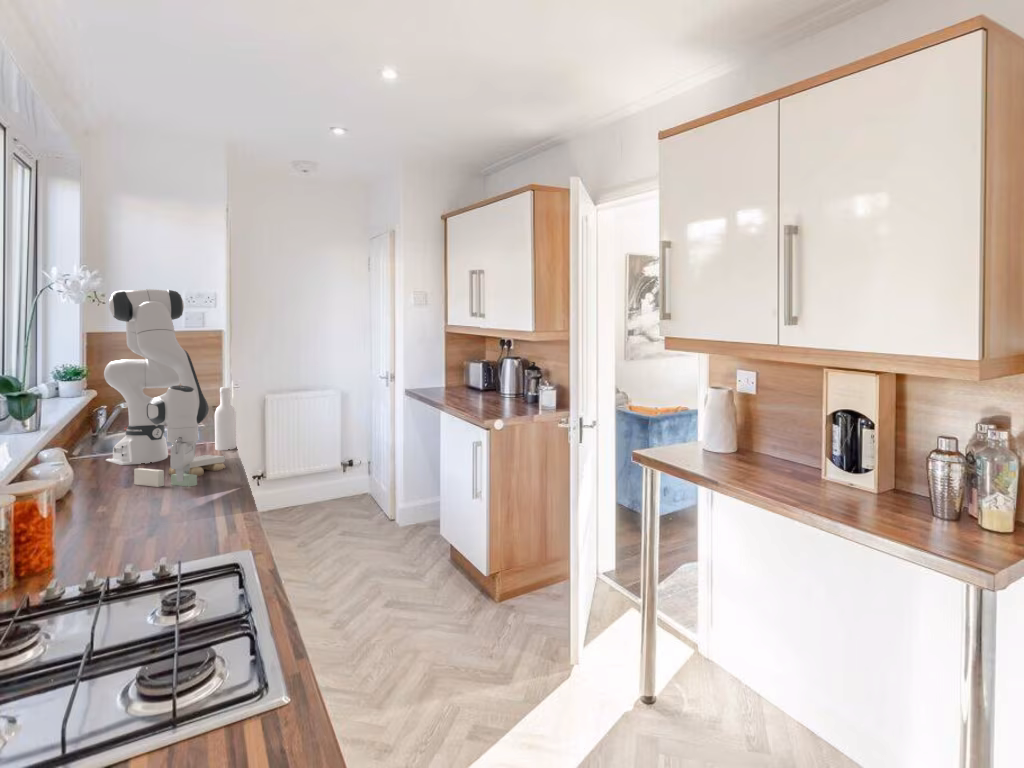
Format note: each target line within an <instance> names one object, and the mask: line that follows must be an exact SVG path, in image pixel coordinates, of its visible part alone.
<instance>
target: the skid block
mask: <svg viewBox="0 0 1024 768" xmlns="http://www.w3.org/2000/svg"><path fill="white" fill-rule="evenodd" d="M170 485H171V486H178V487H188V488H190V487H194V486H197V485H198V477H197V475H193V474H184V480H183V481H182V482H178V481H177V476H176V474H172V475H171V474H170Z"/></svg>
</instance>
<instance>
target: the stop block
mask: <svg viewBox="0 0 1024 768" xmlns="http://www.w3.org/2000/svg"><path fill="white" fill-rule="evenodd" d="M133 474H134V476H133V479H134V482H133V483H134V485H137V486H144V487H145V486H147V487H154V488H160V487H164V486H165V470H164V469H154V468H145V467H144V468H143V467H139V468H134V470H133Z"/></svg>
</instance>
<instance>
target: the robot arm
mask: <svg viewBox="0 0 1024 768" xmlns="http://www.w3.org/2000/svg"><path fill="white" fill-rule="evenodd" d="M108 307H109V311H110V313H111V314H112V316H113V318H114V319H116V320H117V321H121V322H125V329H126V330H125V332H126V334H125V335H126V346H127V348H128V349H129V350H130V351H131V352H132V353H134V354H136V355H138V356H141V357H142V358H144V359H136V358H135V359H134V358H132V359H131V358H129V359H127V358H125V359H119V360H113V361H109V363H107V364H106V366H105V368H104V371H103V377H104V380H105V382H106V384H108V385H109V386H110V387H111V388H114V390H116V391H117V392H118V393H119V394H121V396H122V398H123V399H124V400H125V403H126V406H127V412H128V414H127V415H128V425H127V426H125V427H124V431H125V436H123V438H122V439H121V440H119V441H118V442H117V443H116V444H115V445H114V446H113V448H112V458H106V459H105V461H106V462H108V463H109V462H110V463H112V464H116V465H120V466H130V465H142V464H141V463H145V464H151V463H150V462H152V463H156V462H161V461H163V460H166V459H168V457H169V452H168V451H169V450H168V443H170V444H171V446H170V467H171V469H175V472H176V476H177V481H178V482H182V481H183V480H184V474H190V462H192V461H193V460H194V458H195V457H196V450H197V449H196V448H197V442H198V441H199V424H200V423H202V422H203V421H204V420H205V419H206V417H207V416H208V414H209V403H208V401H207V398H206V397H205V396H204V394H203V392H202V389H201V385H200V382H199V379H198V377H197V373H196V370H195V367H194V365H193V361H192V359H191V357H190V354H189V353H188V351H186V350H185V349H184V348H183V347H182V346H181V345H180V343H179V341H178V339H177V337H176V332H175V326H174V320H178V319H179V318H180V317H182V316H183V313H184V310H185V309H184V308H185V303H184V299H183V298H182V295H181V294H180V293H179V291H176V290H170V289H167V290H163V289H154V288H153V289H150V288H149V289H148V288H147V289H132V290H130V289H129V290H125V289H122V290H116V291H114V292H113V293H112V294H111V296H110V298H109V301H108ZM166 388H167V390H166V392H164V393H162V394H161V395H158V396H155V397H151V396H149V395H147V394H145V392H144V389H166ZM165 426H166V427H165ZM165 430H166V436H165V435H164V434H165Z"/></svg>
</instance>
